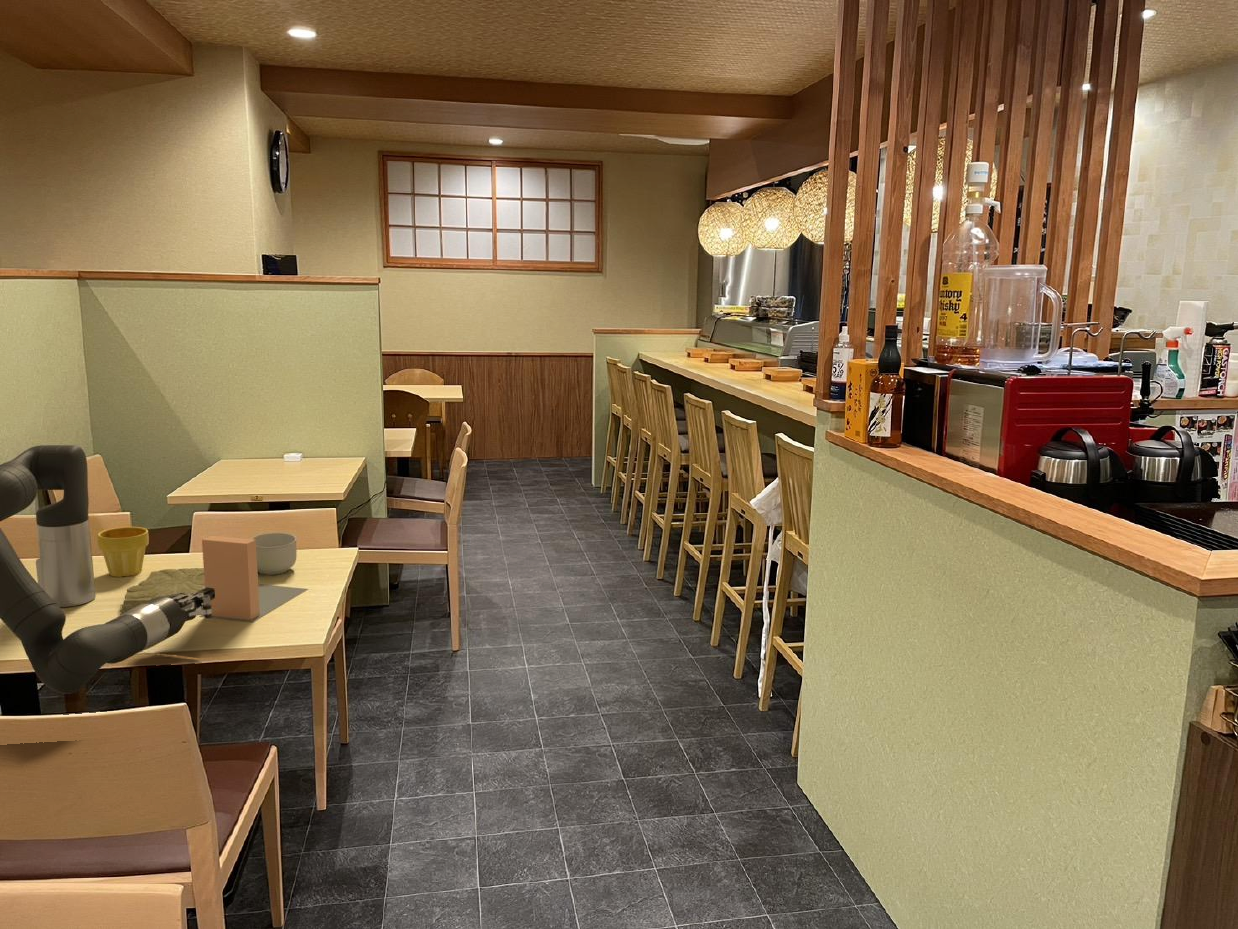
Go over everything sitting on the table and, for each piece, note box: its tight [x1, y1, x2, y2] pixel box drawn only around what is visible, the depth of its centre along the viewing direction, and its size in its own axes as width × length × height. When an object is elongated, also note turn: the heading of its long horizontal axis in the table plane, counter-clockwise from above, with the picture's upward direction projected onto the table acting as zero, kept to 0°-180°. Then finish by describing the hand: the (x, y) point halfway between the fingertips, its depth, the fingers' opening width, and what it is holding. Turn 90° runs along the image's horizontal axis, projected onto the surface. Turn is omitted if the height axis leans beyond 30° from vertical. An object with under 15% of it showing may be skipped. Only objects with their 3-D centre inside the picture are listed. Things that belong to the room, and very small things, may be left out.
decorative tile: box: [122, 567, 205, 613], centre depth 193 cm, size 19×20×4 cm
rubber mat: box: [198, 583, 309, 624], centre depth 189 cm, size 12×21×1 cm, turn 169°
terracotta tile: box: [201, 535, 260, 620], centre depth 180 cm, size 10×3×16 cm, turn 79°
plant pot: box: [96, 526, 150, 578], centre depth 206 cm, size 10×10×10 cm
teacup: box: [250, 532, 298, 576], centre depth 210 cm, size 14×11×8 cm
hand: (211, 592), depth 173 cm, fingers closed
